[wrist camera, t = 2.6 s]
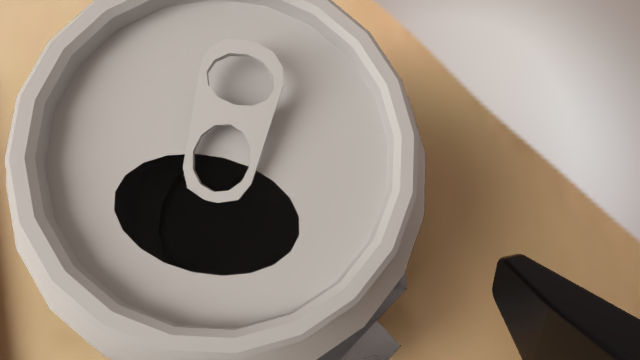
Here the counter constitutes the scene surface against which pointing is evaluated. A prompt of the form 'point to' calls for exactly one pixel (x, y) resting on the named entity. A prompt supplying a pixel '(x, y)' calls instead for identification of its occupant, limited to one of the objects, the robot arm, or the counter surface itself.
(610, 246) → the counter surface
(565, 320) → the robot arm
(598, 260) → the counter surface
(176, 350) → the can
